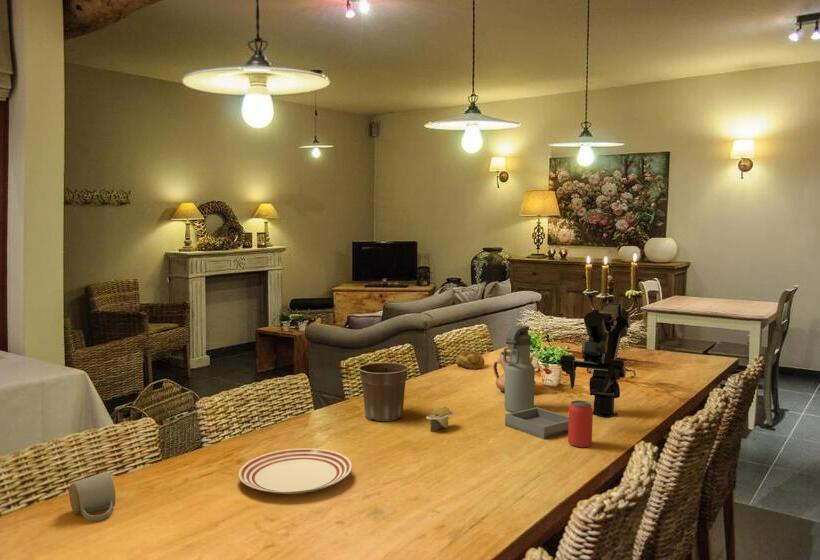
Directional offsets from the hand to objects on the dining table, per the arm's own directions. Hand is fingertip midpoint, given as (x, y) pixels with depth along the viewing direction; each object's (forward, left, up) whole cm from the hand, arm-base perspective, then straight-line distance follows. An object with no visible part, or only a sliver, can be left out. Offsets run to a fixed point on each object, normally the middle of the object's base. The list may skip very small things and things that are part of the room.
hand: (587, 389), depth 201 cm
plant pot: (+37, -51, -14) cm, 65 cm away
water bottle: (-4, -31, -14) cm, 34 cm away
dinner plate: (+84, -20, -14) cm, 88 cm away
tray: (+5, -13, -14) cm, 20 cm away
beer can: (+7, +4, -14) cm, 16 cm away
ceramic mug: (+128, -29, -14) cm, 132 cm away
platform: (+31, -30, -15) cm, 45 cm away
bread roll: (-33, -89, -14) cm, 96 cm away
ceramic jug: (-20, -49, -14) cm, 55 cm away
